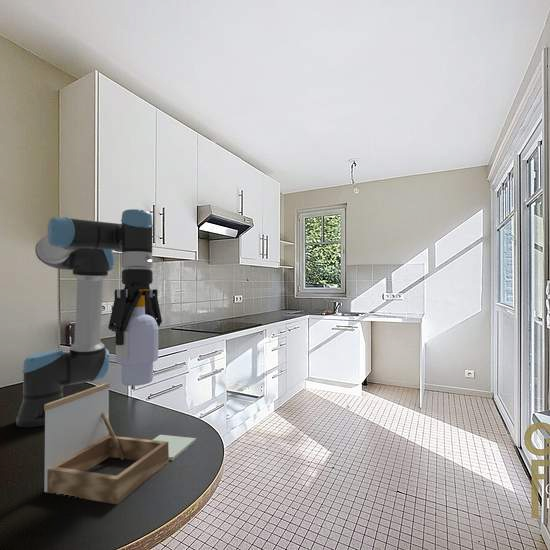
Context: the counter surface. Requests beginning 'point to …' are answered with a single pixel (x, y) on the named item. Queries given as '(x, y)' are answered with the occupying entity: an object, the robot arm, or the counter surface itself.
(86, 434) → the lid
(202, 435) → the counter surface
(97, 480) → the frame
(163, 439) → the trivet
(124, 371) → the soap bottle
